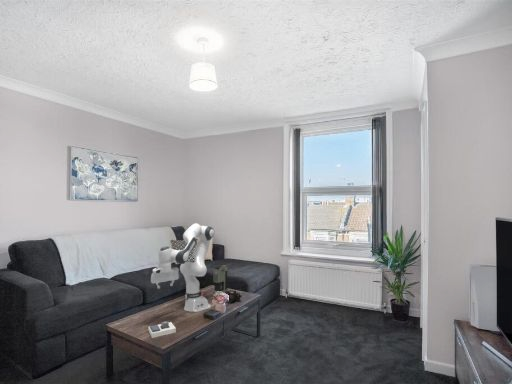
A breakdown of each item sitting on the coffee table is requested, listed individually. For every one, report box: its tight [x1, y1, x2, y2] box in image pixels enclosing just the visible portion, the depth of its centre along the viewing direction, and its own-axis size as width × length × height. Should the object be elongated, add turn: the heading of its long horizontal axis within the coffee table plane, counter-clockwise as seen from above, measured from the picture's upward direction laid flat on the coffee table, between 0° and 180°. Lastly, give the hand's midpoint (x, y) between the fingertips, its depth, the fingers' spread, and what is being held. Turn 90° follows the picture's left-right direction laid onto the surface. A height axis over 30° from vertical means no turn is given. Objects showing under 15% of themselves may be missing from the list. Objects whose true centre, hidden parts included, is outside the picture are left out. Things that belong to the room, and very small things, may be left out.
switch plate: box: [147, 321, 177, 339], centre depth 204 cm, size 16×12×4 cm
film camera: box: [225, 289, 242, 304], centre depth 266 cm, size 18×12×10 cm
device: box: [213, 263, 229, 295], centre depth 283 cm, size 14×8×30 cm, turn 144°
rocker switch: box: [160, 320, 169, 329], centre depth 205 cm, size 4×4×6 cm
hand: (165, 287), depth 218 cm, fingers open, 8 cm apart
